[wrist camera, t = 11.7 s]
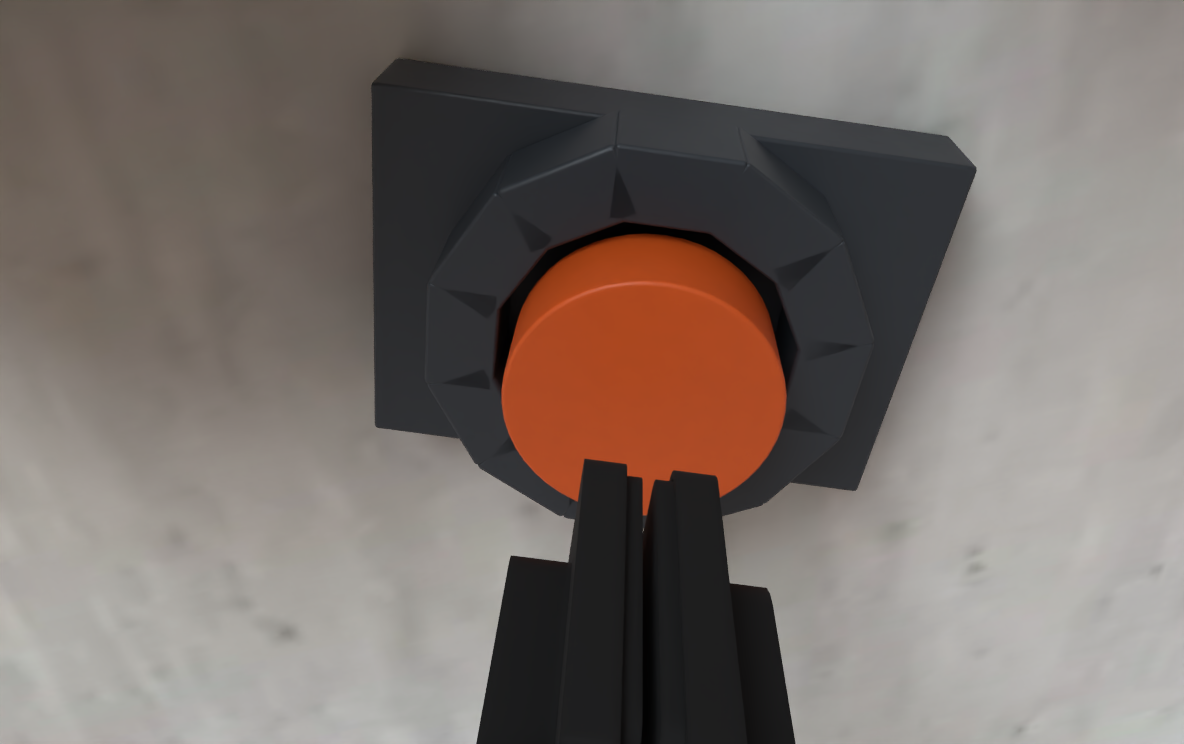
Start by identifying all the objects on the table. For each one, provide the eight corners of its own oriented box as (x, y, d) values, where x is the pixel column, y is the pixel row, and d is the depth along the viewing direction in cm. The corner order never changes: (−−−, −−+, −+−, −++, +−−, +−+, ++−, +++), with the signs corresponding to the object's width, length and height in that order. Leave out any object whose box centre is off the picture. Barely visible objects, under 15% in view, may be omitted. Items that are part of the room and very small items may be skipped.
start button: (505, 436, 16) (491, 498, 15) (526, 213, 14) (511, 261, 12) (742, 467, 16) (751, 533, 15) (802, 251, 14) (820, 304, 13)
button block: (394, 388, 20) (349, 491, 17) (395, 48, 16) (336, 105, 13) (840, 448, 20) (873, 560, 17) (952, 127, 16) (1022, 200, 13)
